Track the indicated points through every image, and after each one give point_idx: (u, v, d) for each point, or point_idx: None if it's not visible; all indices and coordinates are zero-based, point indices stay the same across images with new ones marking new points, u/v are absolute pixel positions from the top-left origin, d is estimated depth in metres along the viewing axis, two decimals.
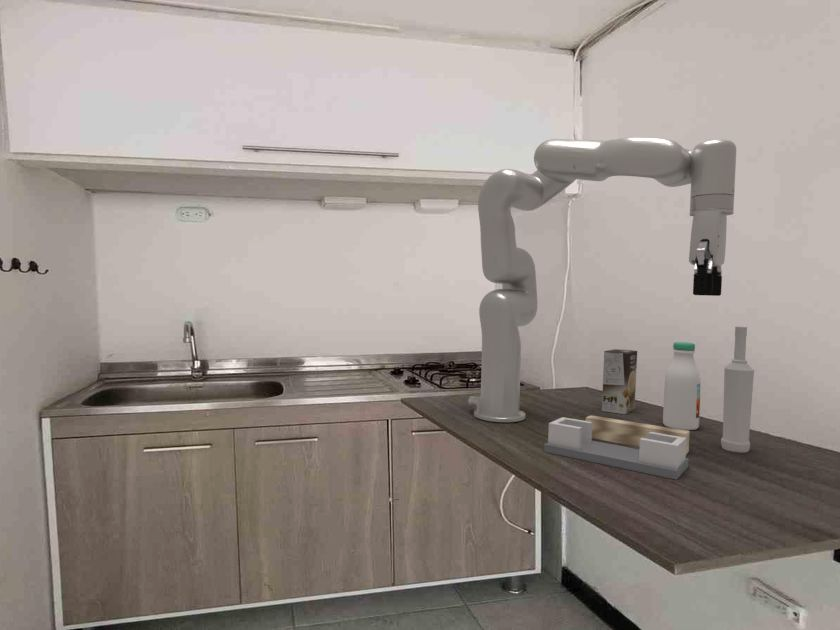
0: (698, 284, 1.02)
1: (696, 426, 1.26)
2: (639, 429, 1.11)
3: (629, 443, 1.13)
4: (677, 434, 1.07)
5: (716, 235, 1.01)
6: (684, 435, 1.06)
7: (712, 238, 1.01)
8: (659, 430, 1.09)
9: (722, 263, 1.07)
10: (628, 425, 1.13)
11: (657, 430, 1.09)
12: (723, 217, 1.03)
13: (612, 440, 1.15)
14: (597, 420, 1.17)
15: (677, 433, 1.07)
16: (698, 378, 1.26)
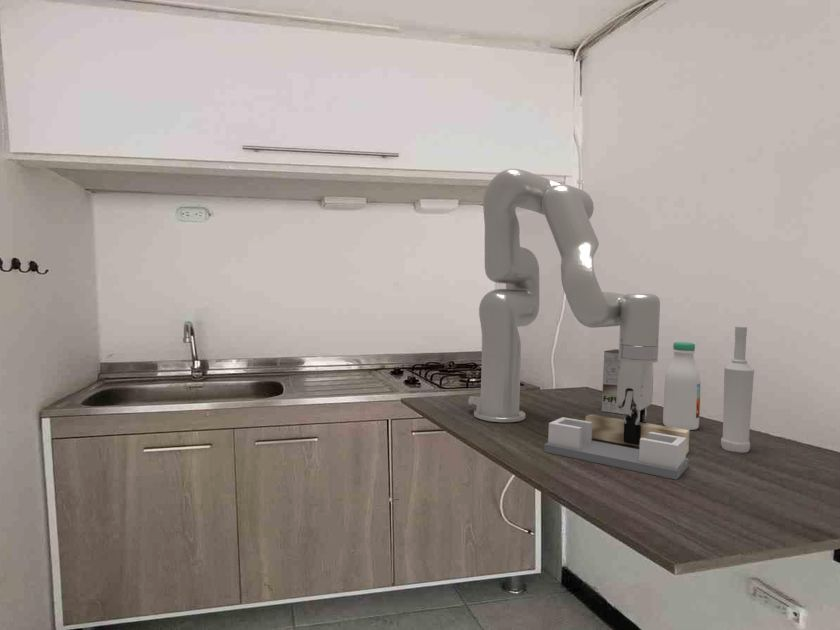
0: (627, 434, 1.12)
1: (696, 426, 1.26)
2: None
3: None
4: (677, 433, 1.07)
5: (639, 386, 1.08)
6: (684, 434, 1.06)
7: (636, 388, 1.08)
8: (659, 429, 1.09)
9: None
10: None
11: (657, 429, 1.09)
12: (647, 367, 1.10)
13: (612, 439, 1.15)
14: (597, 419, 1.17)
15: (677, 432, 1.07)
16: (698, 378, 1.26)
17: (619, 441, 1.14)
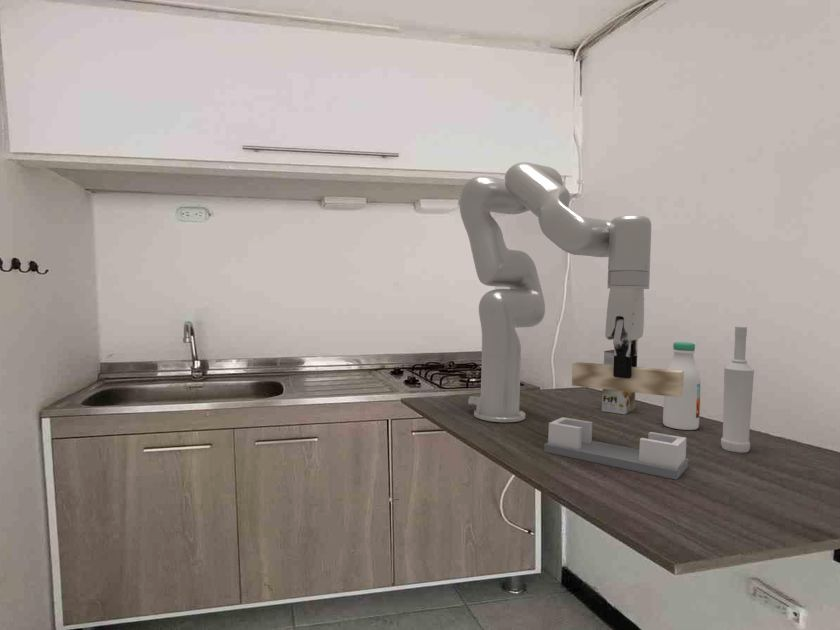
0: (617, 367, 1.03)
1: (696, 426, 1.26)
2: None
3: (619, 387, 1.05)
4: (671, 373, 0.99)
5: (630, 313, 1.00)
6: (678, 374, 0.99)
7: (626, 316, 1.00)
8: (651, 371, 1.01)
9: (640, 337, 1.06)
10: None
11: (649, 371, 1.02)
12: (638, 293, 1.02)
13: (601, 385, 1.07)
14: (585, 365, 1.09)
15: (671, 372, 0.99)
16: (698, 378, 1.26)
17: (609, 387, 1.06)
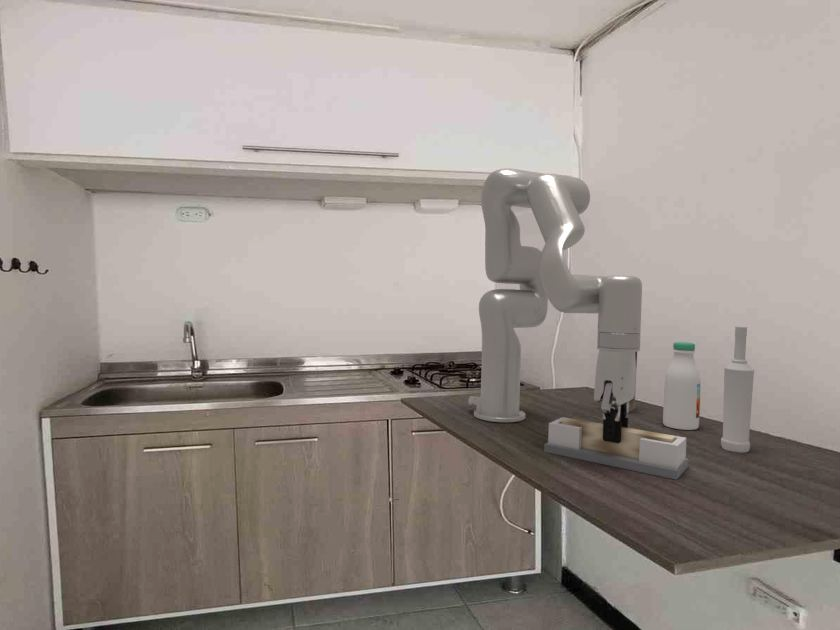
0: (607, 431, 1.00)
1: (696, 426, 1.26)
2: None
3: (609, 449, 1.02)
4: (661, 439, 0.96)
5: (619, 378, 0.97)
6: (669, 440, 0.95)
7: (615, 380, 0.97)
8: (642, 435, 0.98)
9: (631, 399, 1.03)
10: None
11: (639, 435, 0.98)
12: (628, 356, 0.99)
13: (590, 446, 1.04)
14: (574, 423, 1.06)
15: (661, 438, 0.96)
16: (698, 378, 1.26)
17: (598, 448, 1.03)
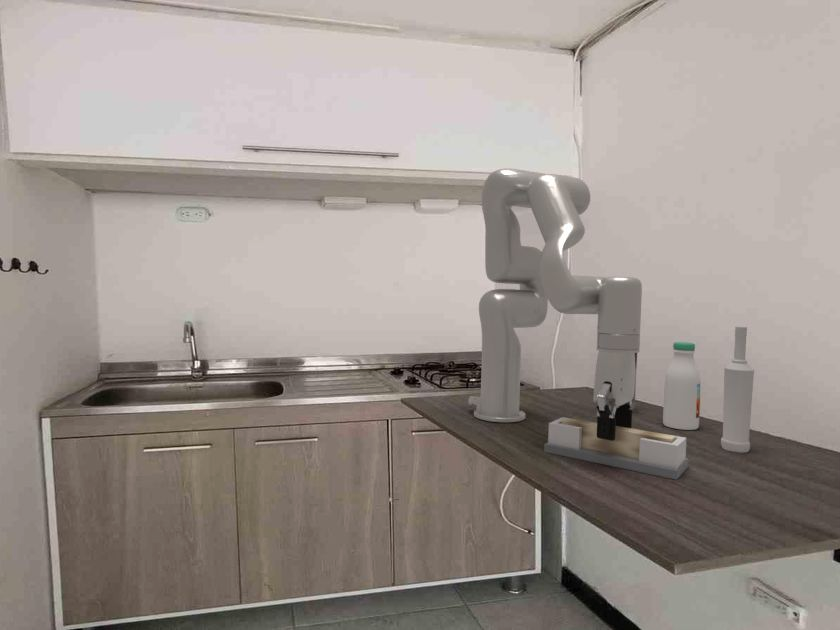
0: (601, 428, 0.98)
1: (696, 426, 1.26)
2: (620, 433, 1.00)
3: (609, 449, 1.02)
4: (661, 439, 0.96)
5: (618, 379, 0.97)
6: (669, 440, 0.95)
7: (614, 381, 0.97)
8: (642, 435, 0.98)
9: (630, 400, 1.03)
10: None
11: (639, 435, 0.98)
12: (627, 357, 0.99)
13: (590, 446, 1.04)
14: (574, 423, 1.06)
15: (661, 438, 0.96)
16: (698, 378, 1.26)
17: (598, 448, 1.03)
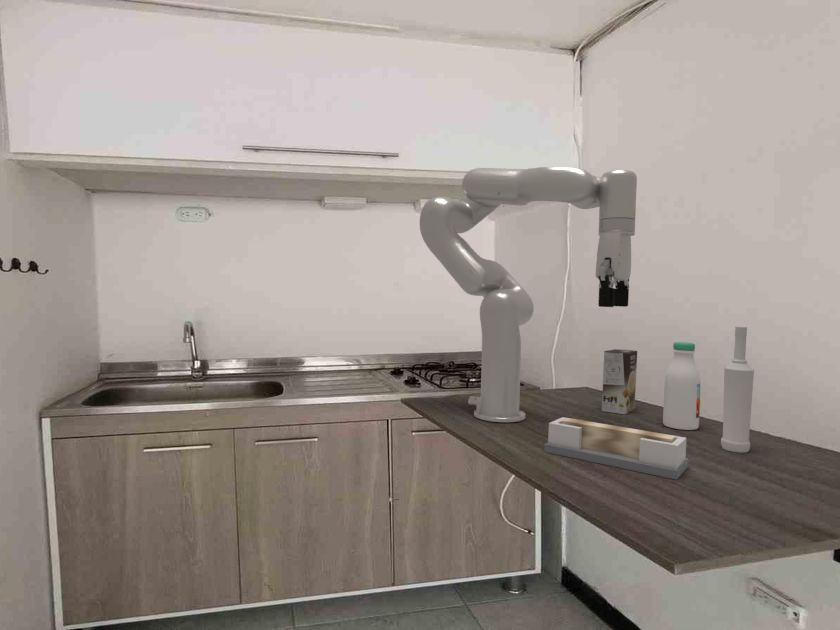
0: (602, 297, 1.16)
1: (696, 426, 1.26)
2: (620, 433, 1.00)
3: (609, 449, 1.02)
4: (661, 439, 0.96)
5: (617, 254, 1.15)
6: (669, 440, 0.95)
7: (613, 256, 1.15)
8: (642, 435, 0.98)
9: (627, 278, 1.21)
10: (608, 429, 1.02)
11: (639, 435, 0.98)
12: (624, 238, 1.17)
13: (590, 446, 1.04)
14: (574, 423, 1.06)
15: (661, 438, 0.96)
16: (698, 378, 1.26)
17: (598, 448, 1.03)
